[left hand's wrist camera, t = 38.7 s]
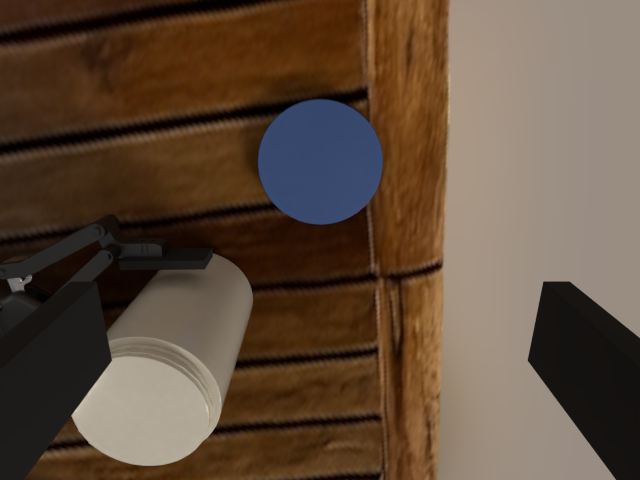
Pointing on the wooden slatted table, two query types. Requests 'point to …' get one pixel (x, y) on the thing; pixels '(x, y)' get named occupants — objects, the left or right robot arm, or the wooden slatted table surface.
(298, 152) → the lid
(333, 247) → the wooden slatted table surface
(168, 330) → the jar
